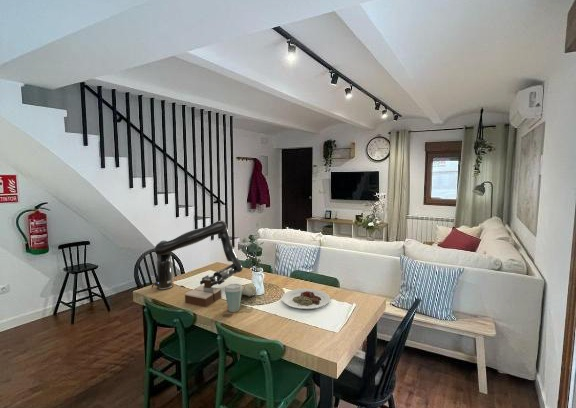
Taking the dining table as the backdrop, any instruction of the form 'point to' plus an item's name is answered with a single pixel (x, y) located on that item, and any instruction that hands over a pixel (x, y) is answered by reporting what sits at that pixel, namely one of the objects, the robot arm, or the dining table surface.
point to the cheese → (249, 290)
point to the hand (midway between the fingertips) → (205, 283)
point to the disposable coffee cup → (233, 296)
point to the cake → (202, 296)
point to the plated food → (306, 298)
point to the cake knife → (207, 286)
